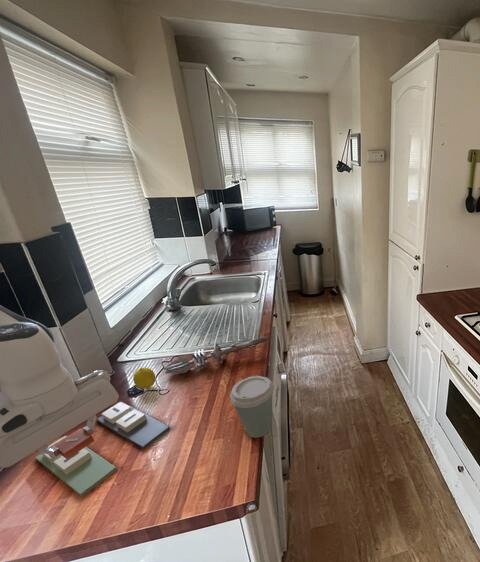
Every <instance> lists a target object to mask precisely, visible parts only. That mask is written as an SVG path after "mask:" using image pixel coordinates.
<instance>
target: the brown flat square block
mask: <svg viewBox="0 0 480 562" xmlns="http://www.w3.org/2000/svg"><path fill="white" fill-rule="evenodd" d="M66 436H67V437H65V438H64V439H62V440H61V441H59V442H57V443H56V444H54V445H53V446H56V447H58V448H59V449H60V452H61V455H62V456H63V457H65V458H66V459H68V458H70V457H71V456H73V455H74V454H76V453H77V452H79V451H80V450H82V449H83V448H85V447H88V446H90V445H91V444H92V443H95V439H94V437H93V434H91V435H90V434H88V433H87V432H85V431H83V429H82V428H78V429H77V430H75V431H73V432H72V433H70V434H69V435H66Z"/></svg>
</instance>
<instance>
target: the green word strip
mask: <svg viewBox="0 0 480 562" xmlns="http://www.w3.org/2000/svg"><path fill="white" fill-rule="evenodd" d="M67 436H68V435H63V436H62V437H61V438H59V439H57V440H56V441H54V442H53V443H51V444H49V445H48V448H51V447H53V445H54V444H56V443H57V442H59V441H61V440H62V439H64V438H65V437H67ZM34 458H35V460H36V461H38V463H40V464H41V465H42V466H43V467H45V468H46V469H47V470H48V471H49V472H51V473H52V474H53V475H54V476H55V477H56V478H58V479H59V480H60V481H62V482H63V483H64V484H65V485H66V486H67V487H68V488H70V489H71V490H73V491H74V492H75V493H76V494H78V496H80V497H81V498H83V497H84V496H86V495H87V494H88V493H90V491H92V490H93V489H95V488H96V487H97V486H98V485H100V484H101V483H102V482H104V481H105V480H106V479H108V478H109V477H110V476H111V475H113V474H114V473H115V472H117V471H118V469H117V467H116V466H115V465H114V464H112V463H110V462H109V461H108V460H106V459H105V458H103V457H102V456H101V455H99V454H98V453H97V452H94V451H93V450H92V449H90V447H88V446H86V447H85V448H83V449H82V450H80V451H79V452H77V453H76V454H74V455H73V456H71V457H70V458H68V459H66V458H65V457H63V456H62V455H61V454H60V455H59V456H57V457H56V458H54V459H52V458H51V457H50V456H49V455H48V454H45V453H39V454H37V456H35V457H34Z"/></svg>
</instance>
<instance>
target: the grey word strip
mask: <svg viewBox="0 0 480 562" xmlns="http://www.w3.org/2000/svg"><path fill="white" fill-rule="evenodd" d="M100 413H101V412H100ZM96 422H97V423H99V424H101V425H102V426H104V427H106V428H107V429H108V430H111V431H112V432H114V433H115V434H117V435H119V436H120V437H122V438H124V439H126V440H127V441H128V442H130V443H132V444H134V445H135V446H137V447H139V448H140V449H142V450H146V449H147V448H148V447H149V446H151V445H152V444H153V443H155V442H156V441H157V440H158V439H160V438H161V437H162V436H163V435H165V434H166V433H167V432H169V431H170V430H171V427H170V426H169V425H167V424H165V423H163V422H161V421H159V420H158V419H156V418H154V417H152V416H151V415H149V414H146V413H144V412H142V411H141V410H139V409H137V408H135V407H134V406H132V405H129V404H127V403H125V402H123V401H119V402H118V403H115V404H114V405H113V406H111V407H110V408H108V409H105V410H104V411H102V413H101V416H100V417H97V419H96Z"/></svg>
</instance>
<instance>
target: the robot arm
mask: <svg viewBox="0 0 480 562" xmlns="http://www.w3.org/2000/svg"><path fill="white" fill-rule="evenodd" d="M72 377H73V376H72V375H71V373H70V372H69V370H68V369H67V368H65V366H64V365H63V363H62V356H61V354H60V352H59V350H58V348H57V346H56V345H55V338H54V335H53V333H52V331H51V330H50V329H49V327H47V326H46V325H44V324H43V323H40V322H39V321H36V320H33V319H31V318H28V317H24V316H22V315H19V314H18V313H16V312H14V311H12V310H10V309H8V308H6V307H4V306H2V305H1V304H0V393H1V392H2V393H5V394H6V395H7V399H6V400H4V402H2V403H1V404H0V469H8V468H10V467H12V466H13V465H15V464H17V463H18V462H20V461H21V460H23V459H25V458H26V457H28V456H30V455H31V454H33V453H34V452H38V453H39V454H41V453H45V454H48V455H49V456H50V457H51V458H52V459H54V458H56V457H57V456H59V455H60V454H61V452H60V449H59V448H58V447H56V446H53V447H51V448H48V446H49V445H48V444H50V443H51V442H52V441H55V440H56V439H58V438H59V437H61V436H64V435H65V434H66V433H68V432H69V431H72V430H73V429H74V428H76V427H77V426H79V425H81V424H83V423H85V422H86V425H85V426H84V427H82V428H81V429H82V430H83V431H85V432H87V433H88V434H90V435H93V434H95V433H96V432H97V430H96V427H95V425H96V422H97V419H98V417H97V415H98V414H99V413H101V412H103V411H105V410H106V409H107V408H109V407H110V406H112V405H115V404H116V403H117V402H118V400H119V397H120V396H119V393H118V391H117V390H116V388H115V387H114V386H113V385H112V383H111V376H110V374H109V372H108V370H107V371H106V370H95V371H92V372H89V374H87V375H84V376H82V377H81V378H78V379H76V380H75V381H74V380H73V378H72Z"/></svg>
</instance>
